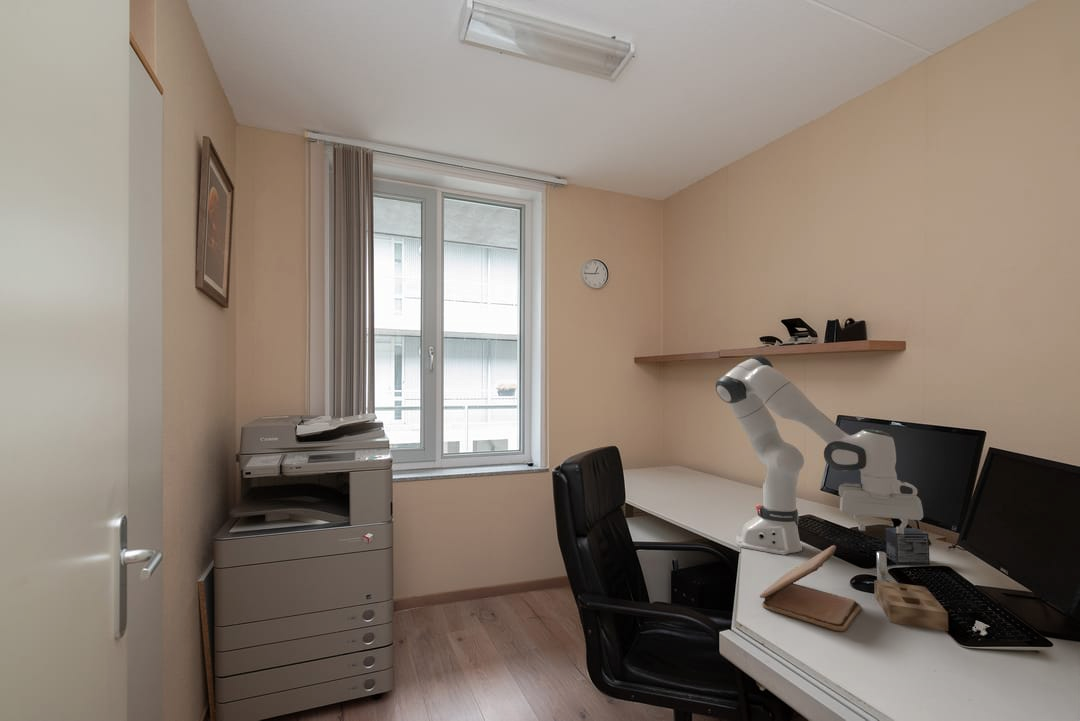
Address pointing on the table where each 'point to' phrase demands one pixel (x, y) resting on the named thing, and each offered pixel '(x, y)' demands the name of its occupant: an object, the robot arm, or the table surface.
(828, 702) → the table surface
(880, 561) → the gauge pin
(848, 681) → the table surface
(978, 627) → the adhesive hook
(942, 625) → the wooden flat block
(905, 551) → the small box
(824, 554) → the case
